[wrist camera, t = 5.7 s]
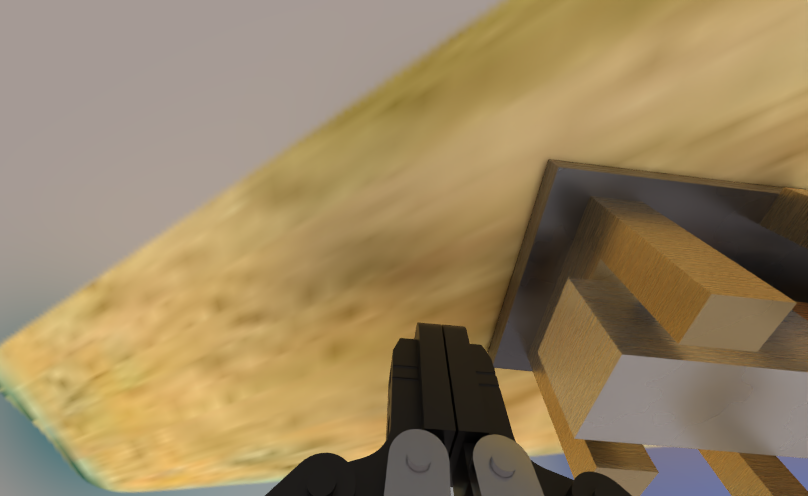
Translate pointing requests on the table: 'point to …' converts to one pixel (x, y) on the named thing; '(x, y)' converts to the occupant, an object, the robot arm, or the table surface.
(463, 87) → the table surface
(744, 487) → the bridge
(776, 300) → the tan bracket pieces
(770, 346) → the rod
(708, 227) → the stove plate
